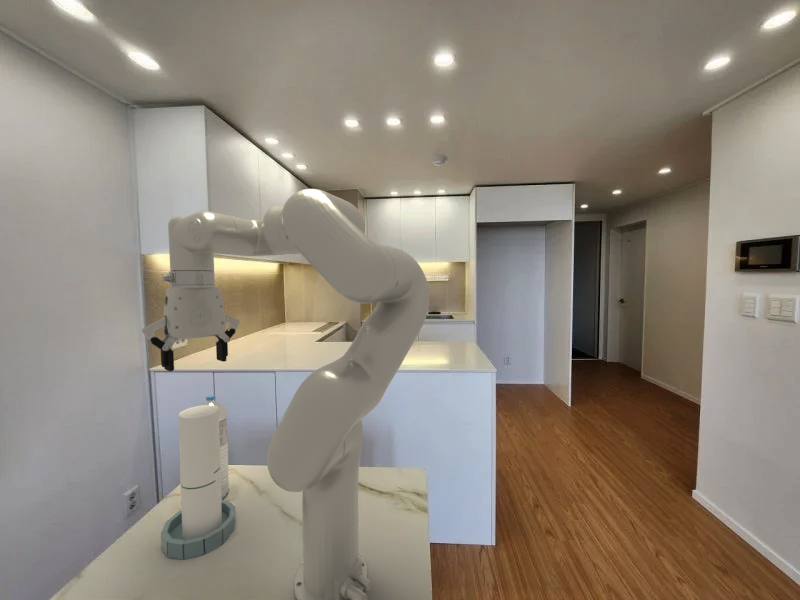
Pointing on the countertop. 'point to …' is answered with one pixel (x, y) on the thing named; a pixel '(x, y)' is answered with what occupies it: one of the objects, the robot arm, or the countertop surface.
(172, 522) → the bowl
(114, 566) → the countertop surface
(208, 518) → the cylindrical container
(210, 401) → the water bottle
